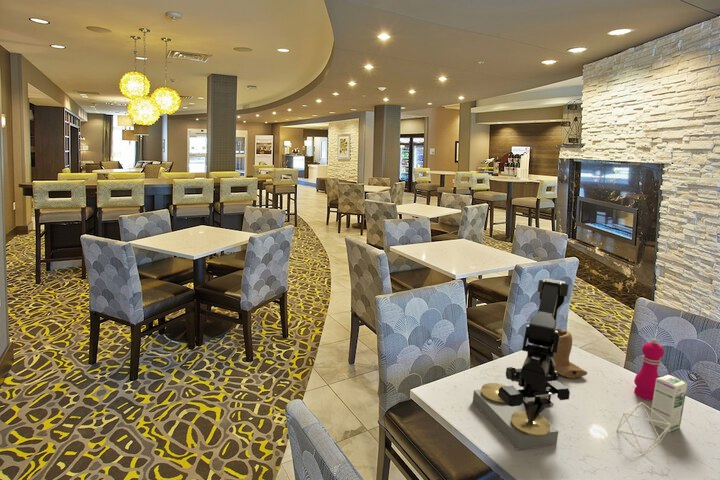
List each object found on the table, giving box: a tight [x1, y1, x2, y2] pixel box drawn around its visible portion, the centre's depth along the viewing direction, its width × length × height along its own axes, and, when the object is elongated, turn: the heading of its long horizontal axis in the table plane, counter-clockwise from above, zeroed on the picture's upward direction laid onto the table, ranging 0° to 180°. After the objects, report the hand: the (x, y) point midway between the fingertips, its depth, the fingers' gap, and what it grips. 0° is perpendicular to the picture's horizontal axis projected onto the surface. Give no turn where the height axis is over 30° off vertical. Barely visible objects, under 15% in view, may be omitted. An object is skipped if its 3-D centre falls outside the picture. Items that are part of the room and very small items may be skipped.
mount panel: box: [472, 388, 559, 451], centre depth 133 cm, size 12×24×4 cm, turn 15°
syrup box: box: [648, 374, 688, 433], centre depth 134 cm, size 6×6×14 cm
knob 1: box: [480, 382, 507, 404], centre depth 141 cm, size 10×10×5 cm
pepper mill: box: [633, 338, 665, 401], centre depth 150 cm, size 7×7×20 cm
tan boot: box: [552, 327, 588, 379], centre depth 165 cm, size 15×12×15 cm
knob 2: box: [511, 411, 551, 436], centre depth 126 cm, size 10×10×5 cm
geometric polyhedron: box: [616, 401, 671, 456], centre depth 126 cm, size 12×11×9 cm
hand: (530, 421), depth 125 cm, fingers closed, pressing on knob 2
